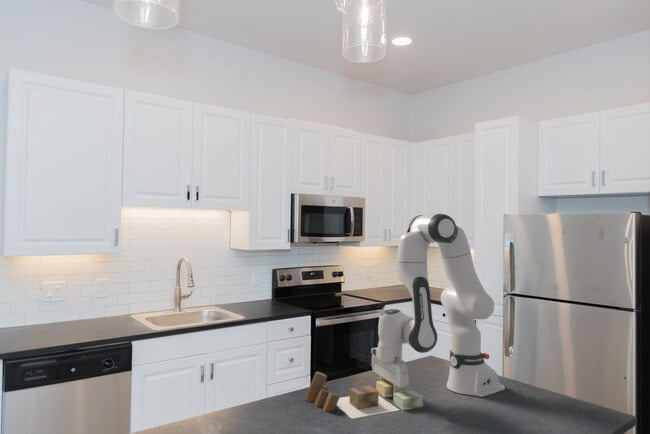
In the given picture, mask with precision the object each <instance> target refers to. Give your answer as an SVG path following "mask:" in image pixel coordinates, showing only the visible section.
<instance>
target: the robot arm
mask: <svg viewBox="0 0 650 434" xmlns="http://www.w3.org/2000/svg"><path fill="white" fill-rule="evenodd" d="M435 243H437V244H438V246H439V250H440V255H441V256H440V257H441V259H442V264H443V269H444V274H445V276H446V278H447V280H449V281H450V283H451V284H452V286H447V287H445V288H444V289H443V290H442V292H441V294H440V303H441V305H442V306H443V307H444V309H445V313H446V315H447V319H448V323H449V328H450V329H449V330H450V344H451V345H450V350H449V361H450V363H449V364H450V366H449V372H448V378H447V379H448V380H447V382H446V388H447V389H448V390H449V391H452V392H455V393H458V394H461V395H469V396H476V397H481V398H483V397H486V396H490V395H494V394H496V393H498V392H499V393H500V392H502V391H504V390H506V387H505V385H504V384H502V383H500V382H499V376H498V373H497V371H496V370H495V369H493V368H492V367H491V366H490V365H488V364H487V363H486V362H485V360H490V354H488V353H486V352H483V353H482V352H481V351H482V350H481V349H482V342H481V340H482V339H481V338H482V334H481V331H480V329H479V327H477V324H476V321H475V320H479V321H480V320H487V319H488V318H490V317H491V316H492V315H493V313H494V311H495V301H494V299H493V298H492V296H490V294H489V293H487V291H486V290H485V288H484V286H483V284H482V283H481V281H480V279H479V277H478V275H477V272H476V269H475V266H474V265H475V264H474V261H473V256H472V253H471V249H470V248H471V247H470V244H469V241H468V237H467V236H466V233H465V230H464V229H463V228H462V227H461V226H458V225H456V222H455V220H454V219H453V218H452V217H451V216H450V215H447V214H444V213H426V214H421V215H420V214H419V215H417V216H415V217H413V218H412V219H411V220H410V222H409V224H408V228H407V230H406V232H405V233H404V234H402V235H401V236H400V237H399V242H398V246H397V247H398V249H397V256H396V257H397V258H396V259H397V265H396V266H397V267H396V268H397V272H398V274H397V275H398V279H399V280H400V282H401V283H402V284H403V285H404V287H405V288H406V289H407V291H408V293H409V294H410V295H411V298H412V309H413V310H412V311H413V317H412V316H409V315H407V314H406V313H403V312H402V311H401V310H399V309H396V308H395V309H394V308H391V309H390V308H389V309H385V310H384V311H382V312H381V313H380V314H379V318H378V324H377V325H378V328H377V330H378V331H377V333H378V334H377V335H378V344H377V347H372V348H371V350H370V351H371V354H372V355H371V369H372V372H373V373H374V374H376V375H378V376H379V381H383V380H388V381H389V382H391V383H393V387H394V389H393V390H392V395H394V393H398V391H399V389H400V388H403V389H405V388H407V387H408V386H409V384H410V381H409V379H410V378H409V370H408V366H407V364H406V363H405V360H403V345H404V344H407V345H409V346H410V347H411V348H412V349H413V350H414V351H415V352H417V353H420V354H426V353H428V352H430V351H432V350H433V349H434V348H435V346H436V345H437V342H438V333H437V329H436V328H435V325H434V321H433V311H432V299H431V290H430V284H429V278H428V276H429V273H428V249H429V246H430V245H431V244H435Z"/></svg>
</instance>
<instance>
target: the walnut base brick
mask: <svg viewBox="0 0 650 434" xmlns="http://www.w3.org/2000/svg"><path fill="white" fill-rule="evenodd" d="M378 395H379V396H380V394H379V391H377V390H376V388H374V387H373V386H371V385H365V386H357V387H351V388H349V396H350V404H351V405H353V406H354V407H355V408H356V409H357V410H358V409H364V408H370V407H376V406H378Z"/></svg>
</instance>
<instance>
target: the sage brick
mask: <svg viewBox="0 0 650 434" xmlns="http://www.w3.org/2000/svg"><path fill="white" fill-rule="evenodd" d="M392 398H393V400H392V401H393V404H392V405H394V406H395V407H396V408H398V409H399V410H400V409H401V410H402V411H406V410H413V409H418V408H423V407H424V395H422V394H420V393H418V392H417V391H415V390H414V389H411V390H405V391H404V390H403V392H398V393H394V396H392Z"/></svg>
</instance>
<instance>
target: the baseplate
mask: <svg viewBox="0 0 650 434" xmlns="http://www.w3.org/2000/svg"><path fill="white" fill-rule="evenodd" d="M336 407H338V408H339V409H340V410H341V411H342V412H343V413H344V414H345V415H347V416H348V417H349V418H350V419H352V420H353V419H357V418H364V417H370V416H374V415H375V416H376V415H380V414H386V413H392V412H397V411H400V408H398V407H397V406H396V405H394V404H392V403H390V402H389V401H387V399H384V397H383V396H381V395H380V394H379V395H378V406H376V407H370V408H364V409H358V410H357V409H356V408H355V407H354V406H353V405H351V404H350V395H349V396H344V397H343V396H342V397H339V400H338V403H337V405H336Z"/></svg>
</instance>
